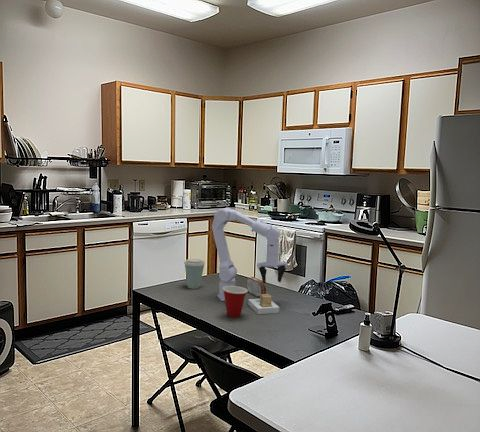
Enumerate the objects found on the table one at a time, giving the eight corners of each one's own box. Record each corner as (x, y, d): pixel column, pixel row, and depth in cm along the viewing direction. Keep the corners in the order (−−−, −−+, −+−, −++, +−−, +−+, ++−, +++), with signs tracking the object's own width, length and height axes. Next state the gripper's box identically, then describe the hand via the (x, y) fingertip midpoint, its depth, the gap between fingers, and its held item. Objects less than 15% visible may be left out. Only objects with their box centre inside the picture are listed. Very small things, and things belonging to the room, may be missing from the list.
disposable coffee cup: (184, 284, 236) (184, 257, 234) (204, 284, 237) (204, 257, 235) (183, 290, 225) (184, 261, 224) (204, 290, 227) (205, 261, 225)
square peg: (259, 309, 198) (260, 294, 197) (267, 308, 199) (268, 293, 198) (262, 312, 194) (263, 296, 193) (271, 311, 195) (271, 296, 194)
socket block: (248, 304, 204) (248, 299, 204) (268, 303, 207) (268, 298, 207) (257, 314, 191) (258, 308, 191) (279, 312, 194) (279, 307, 194)
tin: (266, 298, 215) (266, 281, 214) (260, 299, 213) (261, 282, 212) (250, 290, 228) (250, 275, 227) (245, 291, 226) (245, 275, 225)
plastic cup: (249, 319, 185) (249, 291, 183) (223, 320, 183) (224, 292, 181) (244, 311, 195) (245, 284, 194) (220, 311, 193) (221, 285, 192)
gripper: (260, 255, 198) (259, 285, 200) (290, 254, 202) (289, 283, 204) (255, 252, 205) (254, 281, 206) (284, 251, 209) (283, 279, 211)
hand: (271, 282), depth 206 cm, fingers open, 7 cm apart
